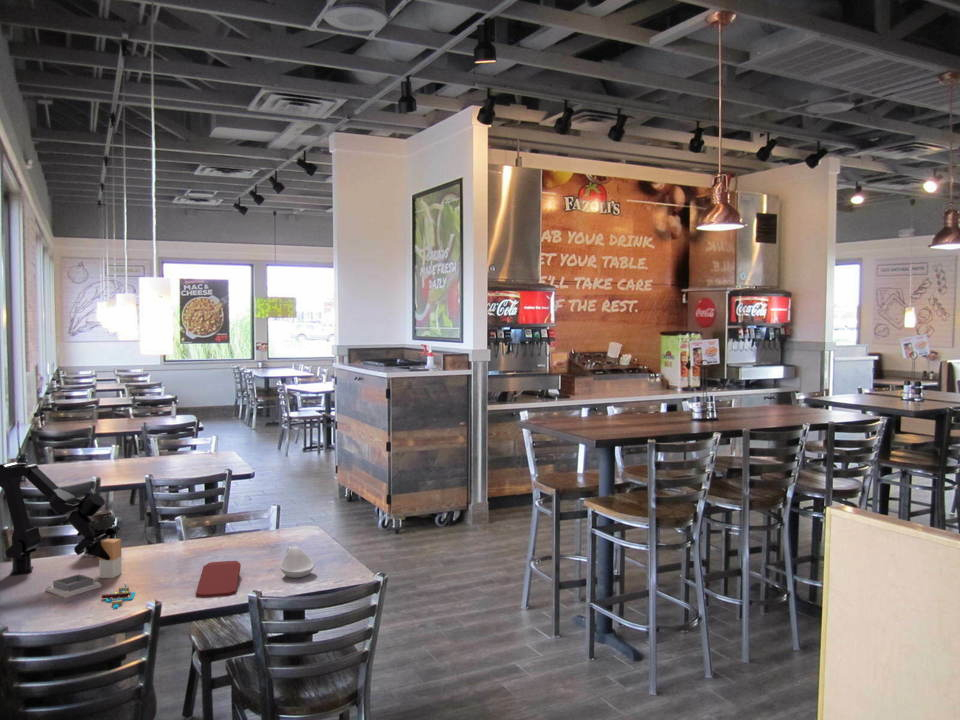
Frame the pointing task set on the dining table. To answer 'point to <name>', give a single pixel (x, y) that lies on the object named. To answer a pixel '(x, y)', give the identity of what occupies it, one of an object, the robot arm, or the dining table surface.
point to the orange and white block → (111, 559)
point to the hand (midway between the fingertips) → (114, 557)
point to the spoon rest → (296, 563)
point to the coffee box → (99, 517)
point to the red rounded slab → (219, 579)
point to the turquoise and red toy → (122, 594)
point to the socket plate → (72, 585)
